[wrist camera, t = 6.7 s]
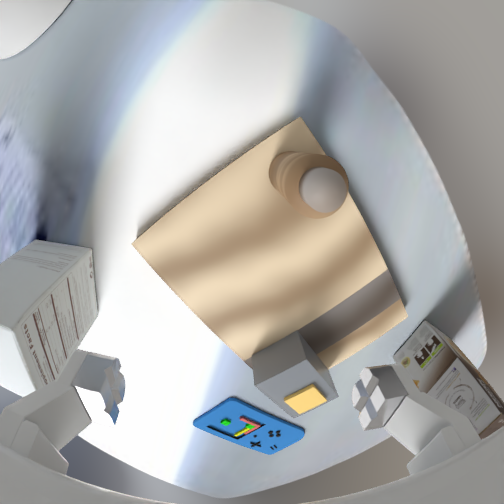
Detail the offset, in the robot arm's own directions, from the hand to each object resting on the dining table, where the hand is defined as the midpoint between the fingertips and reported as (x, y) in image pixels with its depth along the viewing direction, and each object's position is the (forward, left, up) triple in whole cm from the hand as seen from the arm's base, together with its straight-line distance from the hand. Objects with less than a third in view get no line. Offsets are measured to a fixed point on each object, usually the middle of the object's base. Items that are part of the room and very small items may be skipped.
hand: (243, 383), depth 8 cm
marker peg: (-2, +6, -14) cm, 15 cm away
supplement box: (-7, -16, -15) cm, 23 cm away
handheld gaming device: (+23, -15, -16) cm, 32 cm away
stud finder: (+14, -3, -14) cm, 20 cm away
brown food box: (+26, +10, -15) cm, 32 cm away
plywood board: (+6, +1, -15) cm, 16 cm away
